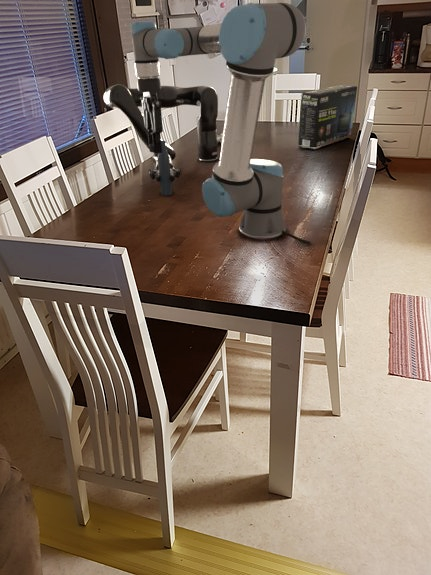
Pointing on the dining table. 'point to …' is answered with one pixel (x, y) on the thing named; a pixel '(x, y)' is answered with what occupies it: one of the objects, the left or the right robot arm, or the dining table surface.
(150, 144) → the cap
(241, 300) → the dining table surface
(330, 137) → the router box
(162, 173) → the bottle
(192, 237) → the dining table surface
